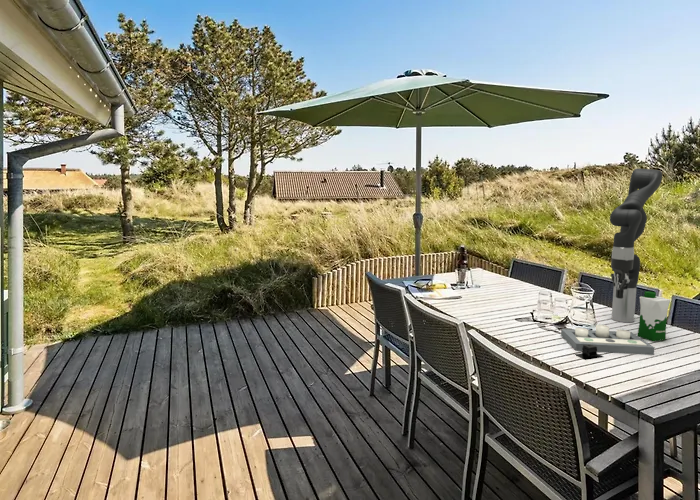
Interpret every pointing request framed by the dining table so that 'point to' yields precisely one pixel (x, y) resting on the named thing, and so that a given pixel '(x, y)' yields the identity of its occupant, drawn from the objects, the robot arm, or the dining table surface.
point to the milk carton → (653, 317)
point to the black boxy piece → (589, 352)
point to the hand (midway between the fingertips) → (619, 298)
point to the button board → (613, 348)
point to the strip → (610, 341)
